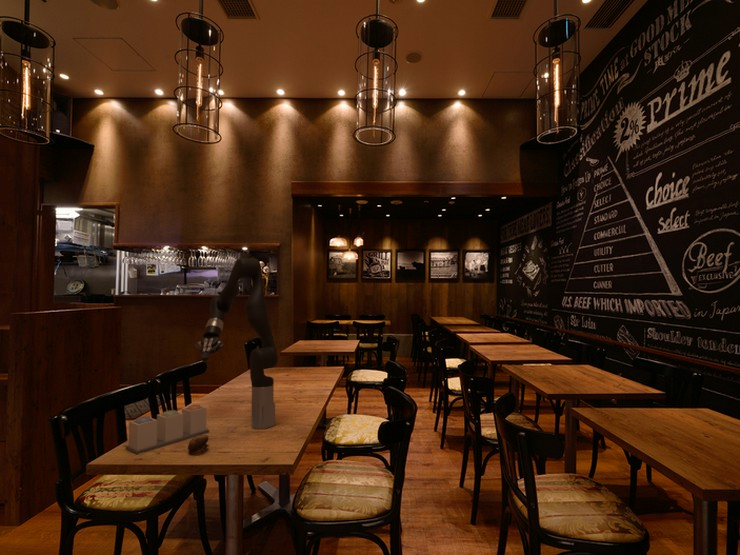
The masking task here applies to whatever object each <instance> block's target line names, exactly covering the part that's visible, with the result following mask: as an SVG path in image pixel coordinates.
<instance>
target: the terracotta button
mask: <svg viewBox="0 0 740 555" xmlns="http://www.w3.org/2000/svg"><path fill="white" fill-rule="evenodd" d="M200 406H201V404H191V405H188V407H187V408H188V410H190V411H193V410H197V409H200Z"/></svg>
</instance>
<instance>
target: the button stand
mask: <svg viewBox="0 0 740 555" xmlns="http://www.w3.org/2000/svg"><path fill="white" fill-rule="evenodd" d="M207 408H208V407H206V406H203V405H200V409H197V410H193V411H190V410H188V407H184V408H181V412H180V411H177V415H173V416H169V417H165V416H163V413H159V414H156V418H152V417H150V421H149V422H145V423H141V424H137V423H136V419H135V420H131V421H128V445H126V446H125V450H126V451H128V452H130V453H132V454H135V455H141V454H143V452H144V453H146V452H149V451H153V450H156V449H160V448H163V447H167V446H170V445H172V444H176V443H179V442H182V441H187V440H189V439H193V438H194V437H196V436H198V435H206V434H208V433H209V434H210V429H208V428H207V416H208V415H207V413H208V411H207V410H208V409H207ZM140 453H141V454H140Z"/></svg>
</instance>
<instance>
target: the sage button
mask: <svg viewBox="0 0 740 555" xmlns="http://www.w3.org/2000/svg"><path fill="white" fill-rule="evenodd" d="M177 412H178V411H177V410H175V409H173V410H170V409H169V410H166V411H164V412H162V414H163V416H165V417H169V416H173V415H177Z"/></svg>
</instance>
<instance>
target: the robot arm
mask: <svg viewBox="0 0 740 555" xmlns="http://www.w3.org/2000/svg"><path fill="white" fill-rule="evenodd" d="M261 265H262V264H261V262H260V260H259V259H258V258H248V257H247V258H246V257H243V258H242V257H241V258H238V259H237V260H236V261H235V263H234V264H233V267H232V270H231V271H230V274H229V277H228V280H227V282H226V284H225V285H224V287H223V289H222V290H221V292H220V294H219V296H218V295H215V296H214V297H212V298H211V300H210V304H209V313H210V314H209V317H208V321H207V323H206V325H205V328H204V331H203V334H202V338H201V339H200V341H195V342H194V345H195V347H196V349H197V350H198V352H199V353H200V354H201V357H200V358H201V360H202V361H203V362H207V361H208V360H209V358H210V355H212V354H215V353H216V352H218V351H219V350H221V349H222V348H223V347H224V342H223V341H220V340H221V336H222V333H223V329H224V323H225V320H226V314H229V313H230V312H231V311H232V308H233V302H234V301H235V299H236V298H237V296H238V294H239V293H240V284H239V280H241V279H251V291H250V294H249V296H248V298H247V301H246V303H245V313H246V319H247V322H248V324H249V325H250V327H251V328H252V330H254V332H255V333H256V334H257V335H258V337H259V339H260V342H261V345H262V347H260V348H258V347H257V348H254V349H252V351H251V352H250V354H249V372H250V373H249V374H250V380H251V428H253V429H256V430H257V429H258V430H265V429H268V428H272V427H273V426H275V425H276V402H274V397H275V396H274V394H275V393H274V390H275V389H274V387H275V386H274V385H275V384H274V381H275V380H274V377H271V376H268V375H266V374H265V370H266V369H267V370H268V369H272V368H275V367H276V366H277V365H278V361H279V360H278V359H279V356H278V351H277V347H276V345H275V344H276V343H275V341H274V336H273V333H272V329H271V324H270V318H269V317H270V316H269V311H268V306H267V302H266V298H265V297H266V296H265V290H264V283H263V282H264V281H263V269H262V266H261ZM202 347H203V348H202Z"/></svg>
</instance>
